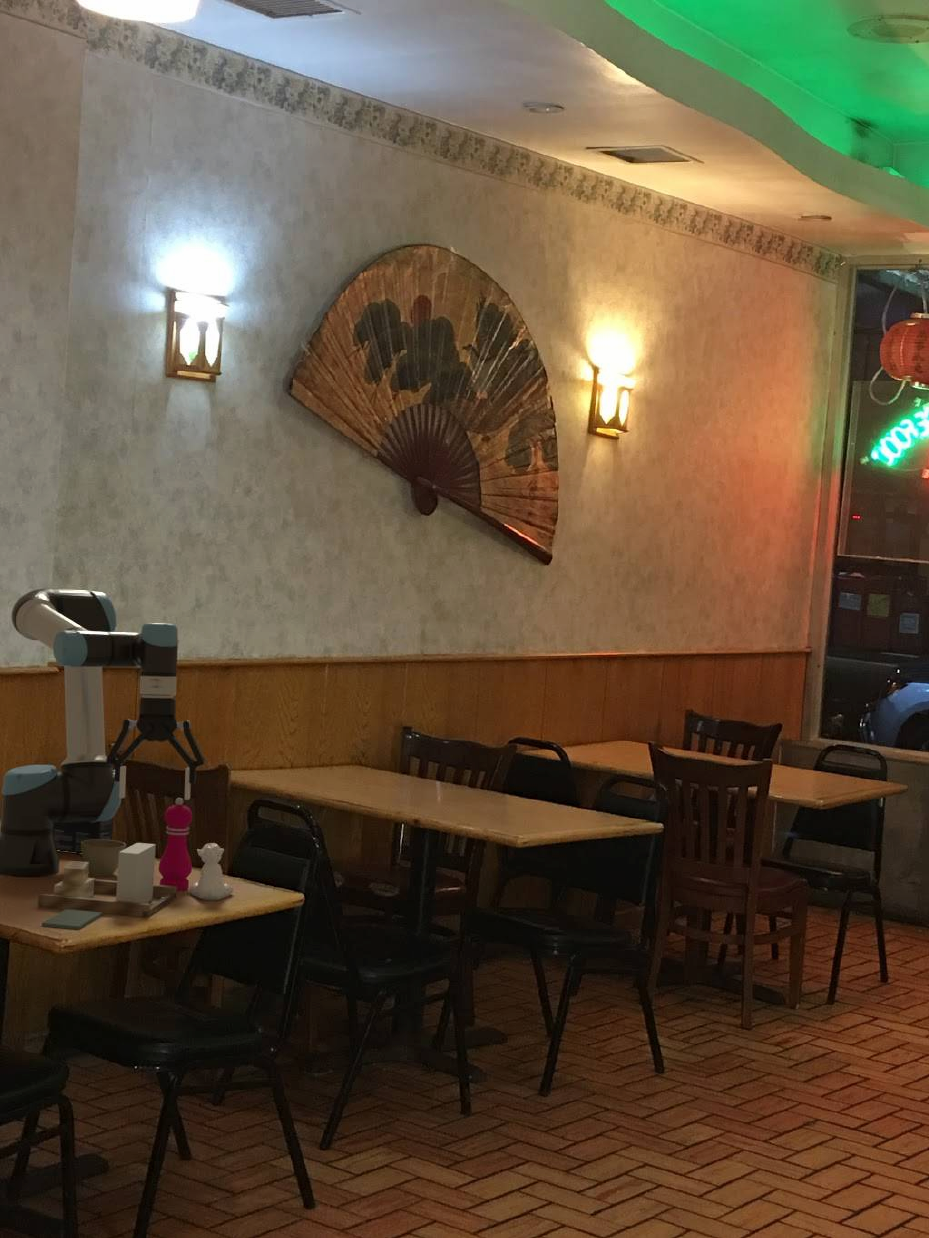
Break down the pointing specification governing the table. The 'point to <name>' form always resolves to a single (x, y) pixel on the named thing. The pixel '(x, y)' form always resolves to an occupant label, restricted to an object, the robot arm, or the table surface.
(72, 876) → the offcut top
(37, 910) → the table surface
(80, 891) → the offcut low
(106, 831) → the small box
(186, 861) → the pepper mill
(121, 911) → the wooden tray
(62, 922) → the mat
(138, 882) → the block
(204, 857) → the seated beast figurine
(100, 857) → the flower pot
